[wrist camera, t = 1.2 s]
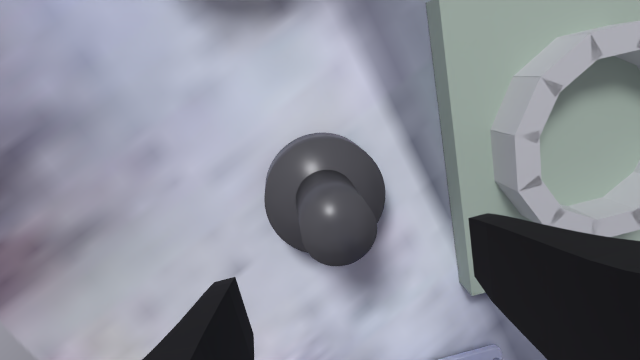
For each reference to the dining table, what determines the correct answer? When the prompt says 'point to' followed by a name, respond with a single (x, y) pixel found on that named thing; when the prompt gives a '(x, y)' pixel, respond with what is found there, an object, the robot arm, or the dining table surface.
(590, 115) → the mount board
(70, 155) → the dining table surface
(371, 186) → the joystick
